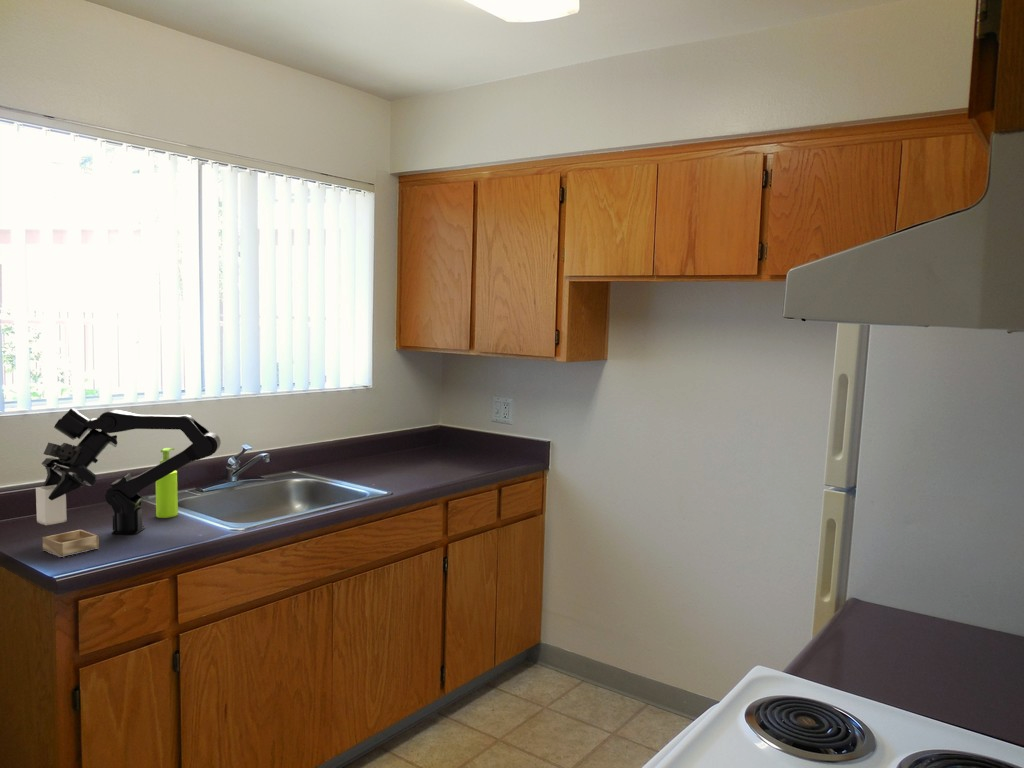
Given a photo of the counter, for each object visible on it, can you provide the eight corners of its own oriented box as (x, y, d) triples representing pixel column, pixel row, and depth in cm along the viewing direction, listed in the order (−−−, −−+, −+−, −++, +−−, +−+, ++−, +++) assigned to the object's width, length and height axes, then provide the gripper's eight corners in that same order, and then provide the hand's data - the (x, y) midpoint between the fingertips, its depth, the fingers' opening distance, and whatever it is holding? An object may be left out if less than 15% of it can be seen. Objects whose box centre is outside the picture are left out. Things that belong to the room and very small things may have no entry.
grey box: (57, 518, 199) (56, 484, 198) (66, 521, 196) (65, 487, 195) (36, 522, 195) (35, 487, 194) (45, 525, 192) (44, 490, 191)
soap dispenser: (182, 512, 229) (181, 446, 227) (173, 517, 222) (171, 450, 221) (162, 511, 229) (161, 446, 227) (152, 517, 222) (151, 450, 220)
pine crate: (81, 542, 196) (80, 529, 196) (99, 549, 191) (98, 535, 191) (42, 551, 189) (42, 537, 188) (60, 558, 183) (59, 544, 183)
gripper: (48, 427, 202) (3, 474, 194) (82, 434, 192) (36, 484, 183) (80, 452, 209) (38, 499, 201) (114, 460, 199) (71, 510, 190)
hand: (45, 497), depth 194 cm, fingers closed on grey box, 5 cm apart
